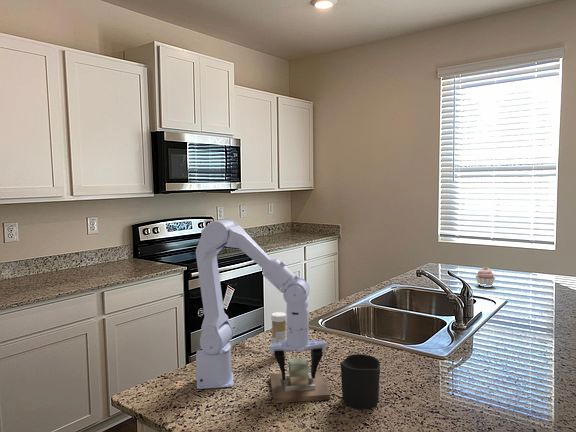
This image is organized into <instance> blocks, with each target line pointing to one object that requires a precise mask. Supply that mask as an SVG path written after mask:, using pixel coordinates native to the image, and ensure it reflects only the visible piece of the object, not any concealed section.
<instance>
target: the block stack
mask: <svg viewBox="0 0 576 432" xmlns="http://www.w3.org/2000/svg"><path fill="white" fill-rule="evenodd" d="M308 372H309V363H308V361H307V358H306V357H296V358H288V373H289V382H290V386H297V385H309V382H308Z"/></svg>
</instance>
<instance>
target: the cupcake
mask: <svg viewBox="0 0 576 432" xmlns="http://www.w3.org/2000/svg"><path fill="white" fill-rule="evenodd" d="M475 279H476V282H477V284H478V283H480V284H486V285H492V284H494V281H495V280H496V276H494V273H493V272H492V270H491V269H490V268H489V267H487V266H484V267H482V268H481V269H480V270H478V271H477V274H476V275H475ZM492 286H493V285H492Z"/></svg>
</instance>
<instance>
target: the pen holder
mask: <svg viewBox="0 0 576 432" xmlns="http://www.w3.org/2000/svg"><path fill="white" fill-rule="evenodd" d="M380 371H381V362H380V360H379V359H378V358H377V357H375V356H372V355H368V354H363V353H361V354H359V353H355V354H349V355H348V356H347V357H345V358H344V359H343V360H342V361H341V362H340V377H341V394H342V396H341V397H342V401H343V403H344V404H345V406H347V407H349V408H350V409H351V408H352V409H355V410H370V409H372V408H375V407H376V406H377V405H378V403H379V400H380V399H379V397H380V395H379V394H380V374H381V372H380Z"/></svg>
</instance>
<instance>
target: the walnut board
mask: <svg viewBox="0 0 576 432" xmlns="http://www.w3.org/2000/svg"><path fill="white" fill-rule="evenodd" d="M285 377H286V380H283V379H282V373H270V374H269V381H270V388H271V392H272V399H273V404H284V403H285V404H286V403H295V402H299V403H300V402H311V401H312V402H313V401H326V400H331V392H330V390H329V388H328V386H327V383H326V381H325V379H324V377H323V374H322V371H321V370H316V374H315V378H313V379H312V376H311V371H308V382H309V385H297V386H290V382H289V372H285Z"/></svg>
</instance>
